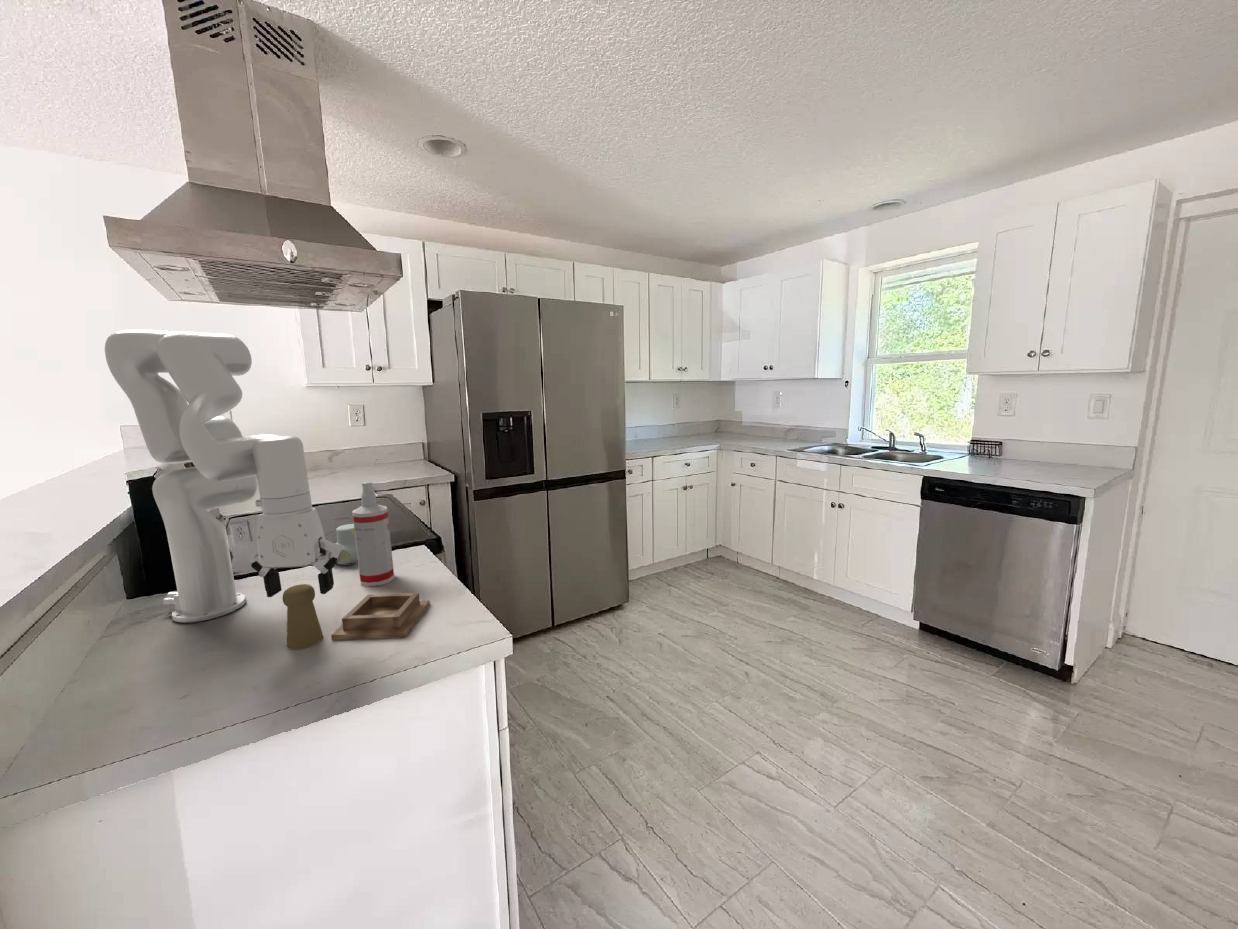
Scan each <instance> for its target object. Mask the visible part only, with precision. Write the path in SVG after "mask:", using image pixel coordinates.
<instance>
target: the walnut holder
mask: <svg viewBox="0 0 1238 929" xmlns="http://www.w3.org/2000/svg"><path fill="white" fill-rule="evenodd" d="M428 606H431V602H430V600H420V593H419V592H417V593H416V592H410V593H409V592H407V593H404V592H403V593H383V594H382V593H380V594H377V593H376V594H366V596H364V598H362V599H361V600H360V601H359V602H358V603H357V604H356V605H355V606H353V608H352V609H351V610H350V611H349V612H347V613H346V614H345V616H343V617H342V618H341V622H342V623H341V625H340V626H339V627H338V628H336V630H335V631H334V632H333V633H332V634H331V635H330V637H331V640H332V641H333V640H334V641H335V640H337V641H339V640H360V639H361V640H363V639H364V640H367V639H388V638H392V639H395V638H406V637H407V636H408V635H409V633H410V632H411V630H412V629H413V627H415V625H416V624H417V622H418V621H419V620H420V619H421V617H422V616H423V615H424V613H425V612H426V611H427V609H428V608H429V607H428Z"/></svg>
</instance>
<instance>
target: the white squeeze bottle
mask: <svg viewBox="0 0 1238 929" xmlns="http://www.w3.org/2000/svg"><path fill="white" fill-rule="evenodd" d="M373 487H374V486H373V482H370V481H363V482H361V488H362V492H361V505H360V506H359V507H358V508H356V509H353V510H352V521H353V524H354V530H355V539H356V548H357V557H358V563H357V565H358V573H359V581H360V585H361V586H363V585H364V587H376V586H377V585H378V586H383V585H384V584H389V583H390V582H391V581H393V580H394V579H395V572H394V560H393V552H392V551H393V550H392V542H391V532H390V521H389V513H388V507H387V505H381V504H378V503H377V502H378V501H377V496H376V493H375V490H374V488H373Z"/></svg>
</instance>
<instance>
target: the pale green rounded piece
mask: <svg viewBox="0 0 1238 929" xmlns="http://www.w3.org/2000/svg"><path fill="white" fill-rule="evenodd" d="M335 530H336V541H337V542H334V543H335V544H338V545H340V546H342V547H343V548H344V549H343V552H342V554H341V557H340V560H339V561H338V563H337V564H338V565H342V566H351V565H355V564H358V557H357V548H356V539H355V530H354V523H348V524H347V523H346V524H342V525H340V526H338V527H337V528H336V529H335ZM331 555H332V553H331V552H330V551H327V556H328V558H329V559H330V558H331Z"/></svg>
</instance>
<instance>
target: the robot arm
mask: <svg viewBox="0 0 1238 929" xmlns="http://www.w3.org/2000/svg"><path fill="white" fill-rule="evenodd" d="M105 340H106V341H105V343H104V344H105V345H104V354H105V361H106V363H107V366H108V369H109V371H110V374H111V375H112V377H113V378H114V380H115V382H116V383H117V384H118V386H119V387H120V389H121V390H122V391H123V392H124V393H125V395H126V396H127V398H128V399H129V401H130V403H131V405H132V407H133V411H134V413H135V418H136V420H137V422H138V425H139V429H140V431H141V434H142V436H143V440H144V443H145V445H146V447H147V450H148V453H149V455H150V456H151V457H152V458H153V459H154V460H155V461H156V462H158V463H160V464H167V465H170V464H183V463H191V462H192V464H193V465H194V466H191V467H190V466H189V467H185V468H184V467H183V468H177V469H173V470H170V471H166V472H165V473H162V474H161V475H159V476H158V477H156V479H155V480H154V481H153V484H152V486H151V490H152V495H153V496H152V497H153V498H154V500H155V503H156V505H157V508H158V510H159V513H160V516H161V518H162V521H163V524H164V528H165V531H166V537H167V542H168V547H169V552H170V557H171V564H172V569H173V573H174V574H173V575H174V580H175V585H176V590H177V591H169V592H168V593H167V594H166V597H165V598H163V600H162V603H163V605H174V610H173V611H172V612H171V618H172V620H173V621H174V622H176V623H185V624H187V623H197V622H198V623H199V622H203V621H204V622H205V621H208V620H213V619H215V618H220V617H222V616H226V615H229V614H230V613H232V612H235V611H237V610H239V609H240V608H242V607H243V606H244V605H245V604H246V603H247V598H246V595H245V594H244V593H240V592H237V588H236V584H235V577H234V572H233V570H234V569H233V565H232V559H231V553H230V552H231V551H230V547H229V541H228V534H227V530H226V527H225V525H224V524H223V523H222V521H220V520H219V519H217V518H216V517H215V516H213V515H212V514H210V511H211V510H214V509H218V508H219V509H220V508H223V507H228V506H233V505H237V504H238V505H239V504H242V503H246V502H249V501H250V500H252V499H254V497H255V496H256V495H257V492H258V491H259V499H256V500H255V502H254V503H255V506H256V507H260V508H261V511H262V513H260V514H258V517H257V525H256V541H257V543H256V545H257V546H256V547H254V548H252V549H251V550H249V551H246V553H244V558H246V560H247V561H248V563H250V566H251V568H252V570H255V571H256V572H258V575H259V577H261V578H262V579H263V584H264V590H265V592H266V597H267V598H272V597H274V596H275V595H277V594H279V593H280V592H281V591H282V584H281V578H280V573H279V570H277V569H286V568H302V567H310V566H314V568H315V569H317V570H318V571H319V573H318V574H317V578H318V586H319V592H320V595H326V594H327V593H328V592H329V591H331V590H332V589H333V588H334V585H335V584H334V583H335V582H334V581H335V580H334V577H333V576H334V575H333V569H334V568H335V567H336V565H337V564H338V561H339V560H340V557H341V554H342V552H343V549H344V548H343V547H342V546H340V545H338V544H335V543H336V542H332V541H330V540H327V539H326V536H325V532H324V529H323V525H322V521H321V519H320V515H319V513H318V511H317V509H316V508H315V507H313V505H312V498H311V492H310V485H309V484H310V483H309V476H308V470H307V464H306V457H305V450H304V444H303V441H302V440H301V439H300V438H299V437H297V436H295V435H283V436H282V435H279V434H274V433H273V434H270V433H269V434H268V433H266V434H257V435H256V434H255V435H245V436H243V435H242V432H241V430H240V428H239V427H238V426H237V424H236V423H235V422H234V421H233V420H232V419H230V418H229V417H226V416H222V415H225V414H226V413H228V412H230V411H231V410H233V409H234V408H236V406H238V405H239V403H240V402H241V401H242V399H243V389H241V387H240V385H239V384H238V382H237V381H236V379H235V378H234V377H235V376H236V377H237V376H243V375H245V374H247V373H248V372H249V371H250V369H251V368H252V360H253V359H252V355H251V351H250V350H249V347H248V346H247V345H246V343H244V341H243V340H241V339H240V338H239V337H237V336H236V335H235V336H234V335H232V334H227V333H211V332H198V331H197V332H195V331H170V330H169V331H168V330H158V329H157V330H156V329H126V330H120V331H116V332H113V333H112V334H110V335H109V336H108V337H107V338H106V339H105ZM160 373H162V374H163V373H168V374H169V376H170V377H171V379H172V380H173V382H174V383H175V385H176V386H175V385H174V384H173V383H171V381H168V379H166V378H164V377H162V376H161V375H159V374H160ZM329 551H330V552H331V553H332V555H331V558H329V557H327V556H328V552H329ZM236 609H237V610H236Z"/></svg>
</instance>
